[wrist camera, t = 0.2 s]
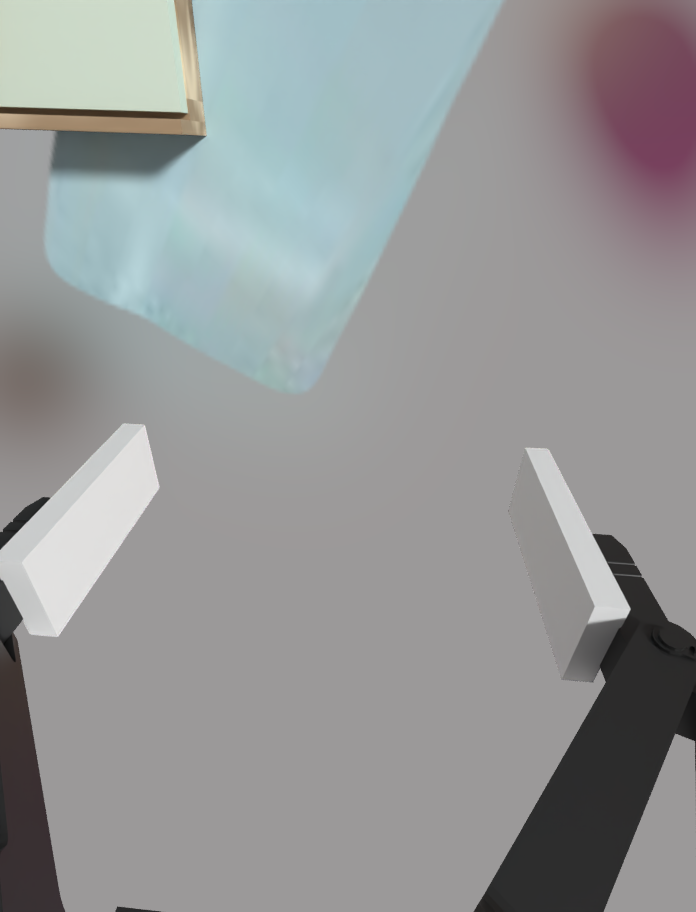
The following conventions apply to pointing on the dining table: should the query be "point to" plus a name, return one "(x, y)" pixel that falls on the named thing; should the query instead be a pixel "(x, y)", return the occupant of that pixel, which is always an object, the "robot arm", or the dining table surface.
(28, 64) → the lid
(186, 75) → the box
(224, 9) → the dining table surface
